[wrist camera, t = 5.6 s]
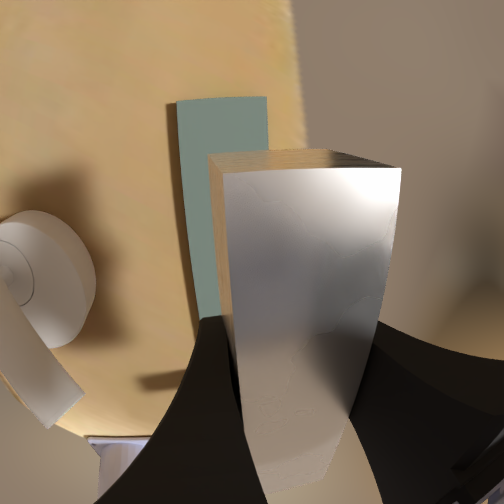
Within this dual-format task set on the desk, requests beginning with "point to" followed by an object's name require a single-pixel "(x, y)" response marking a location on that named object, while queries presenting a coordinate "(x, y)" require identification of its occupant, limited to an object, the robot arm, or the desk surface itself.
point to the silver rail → (299, 295)
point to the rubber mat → (197, 174)
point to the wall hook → (42, 308)
